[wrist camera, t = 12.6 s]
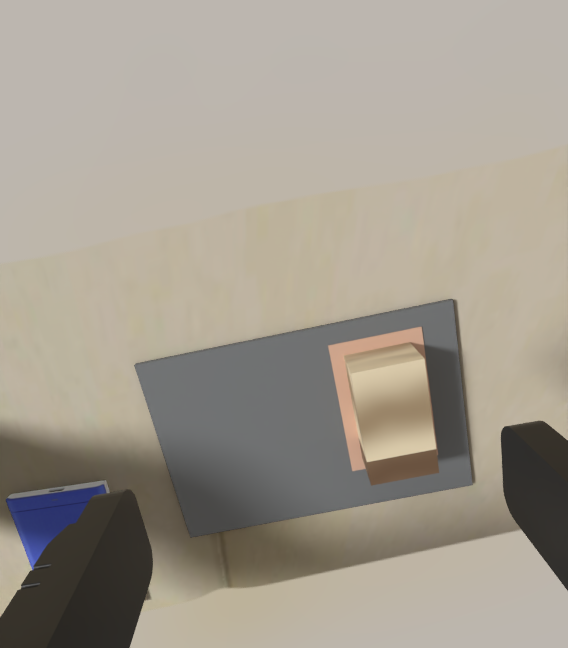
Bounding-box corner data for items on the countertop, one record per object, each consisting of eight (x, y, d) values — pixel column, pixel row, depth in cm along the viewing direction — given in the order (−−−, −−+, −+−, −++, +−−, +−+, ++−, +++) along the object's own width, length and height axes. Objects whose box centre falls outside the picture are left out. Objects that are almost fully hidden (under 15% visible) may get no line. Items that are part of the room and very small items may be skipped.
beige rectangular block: (343, 355, 34) (350, 373, 30) (409, 342, 33) (424, 358, 30) (362, 458, 36) (371, 485, 33) (424, 446, 36) (439, 472, 33)
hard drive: (139, 607, 39) (101, 487, 36) (49, 619, 40) (2, 501, 36) (144, 592, 41) (108, 475, 38) (57, 604, 41) (14, 489, 38)
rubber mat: (191, 534, 39) (190, 538, 38) (136, 363, 34) (134, 366, 34) (470, 481, 38) (473, 485, 37) (450, 298, 33) (453, 300, 33)
